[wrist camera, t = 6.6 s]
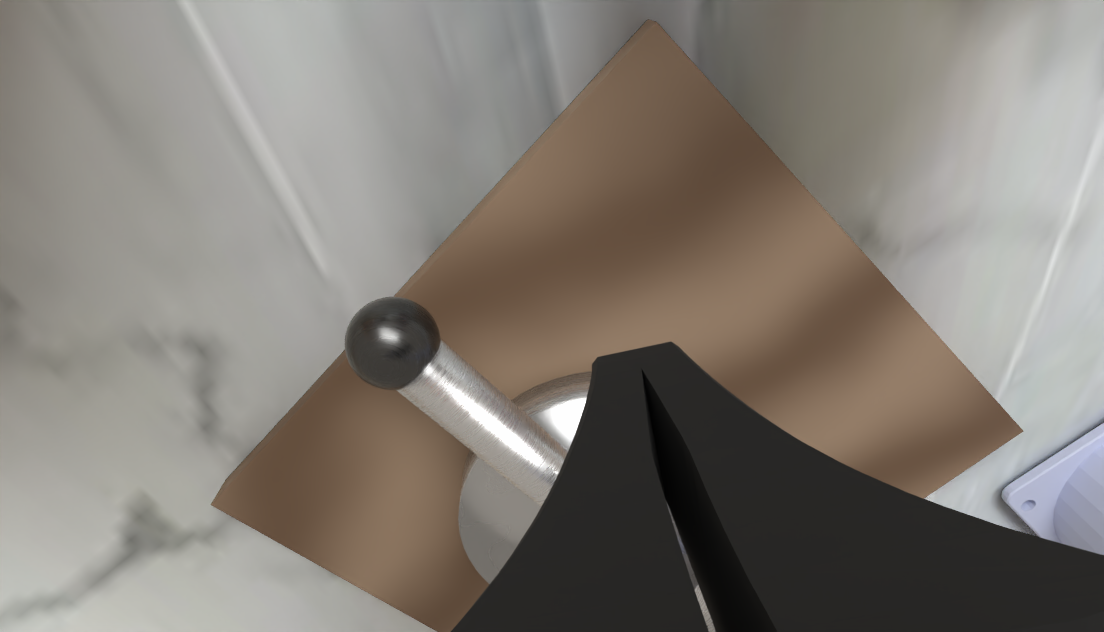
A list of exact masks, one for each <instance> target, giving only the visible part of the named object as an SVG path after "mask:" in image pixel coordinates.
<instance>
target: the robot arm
mask: <svg viewBox="0 0 1104 632" xmlns="http://www.w3.org/2000/svg"><path fill="white" fill-rule="evenodd" d="M1002 498H1003V500H1004V501H1005V502H1006V503H1007V504H1008V506H1009V507H1010V508H1011V509H1012V510H1013V511H1014V512H1015V513H1016V514H1017V515H1018V516H1019V517H1020V518H1021V519H1022V520H1023V521H1024V522H1025V523H1026V524H1027V525H1028V526H1029V527H1030V528H1031V529H1032V530H1033V531H1034V532H1035V533H1036V534H1037V535H1038V536H1039V537H1037V536H1033V535H1030V534H1026V533H1022V532H1019V531H1015V530H1012V529H1008V528H1005V527H1002V526H999V525H996V524H993V523H990V522H987V521H984V520H981V519H979V518H976V517H973V516H970V515H967V514H964V513H961V512H958V511H955V510H953V509H950V508H947V507H944V506H941V505H939V504H936V503H933V502H931V501H928V500H926V499H923V498H920V497H918V496H915V495H913V494H910V493H908V492H905V491H903V490H901V489H898V488H896V487H894V486H891V485H889V484H887V483H885V482H882V481H880V480H878V479H875V478H873V477H871V476H869V475H866V474H864V473H862V472H860V471H858V470H855V469H853V468H851V467H849V466H847V465H845V464H843V463H841V462H839V461H837V460H835V459H833V458H831V457H830V456H828V455H826V454H824V453H822V452H820V451H818V450H817V449H815V448H813V447H811V446H809V445H807V444H806V443H804V442H802V441H800V440H799V439H797V438H795V437H794V436H792V435H791V434H789V433H787V432H786V431H784V430H783V429H781V428H780V427H778V426H777V425H775V424H774V423H772V422H771V421H769V420H768V419H766V418H765V417H763V416H762V415H760V414H759V413H758V412H756V411H755V410H753V409H752V408H751V407H749V406H748V405H746V404H745V403H744V402H743V401H741V400H740V399H739V398H737V397H736V396H735V395H734V394H732V393H731V392H730V391H728V390H727V389H726V388H724V387H723V386H722V385H721V384H720V383H718V382H717V381H716V380H715V379H713V378H712V377H711V376H710V375H709V374H708V373H707V372H705V371H704V370H703V369H702V368H701V367H700V366H699V365H697V364H696V363H695V362H694V361H693V360H692V359H691V358H690V357H689V356H688V355H687V354H686V353H685V352H684V351H683V350H682V349H681V348H680V347H679V346H677V345H676V344H674V343H673V342H671V341H670V342H666V343H661V344H656V345H652V346H647V347H642V348H637V349H633V350H628V351H623V352H619V353H614V354H609V355H604V356H600V357H597V358H596V359H595V361H594V362H593V364H592V373H591V380H590V385H589V390H588V394H587V398H586V402H585V405H584V408H583V411H582V415H581V418H580V421H579V424H578V427H577V430H576V433H575V435H574V438H573V441H572V443H571V445H570V448H569V450H568V453H567V455H566V457H565V460H564V462H563V464H562V467H561V469H560V471H559V474H558V476H557V478H556V480H555V482H554V484H553V486H552V488H551V490H550V492H549V494H548V496H547V497H546V499H545V501H544V503H543V505H542V506H541V508H540V510H539V512H538V514H537V515H536V517H535V519H534V520H533V522H532V524H531V525H530V527H529V528H528V530H527V531H526V533H525V535H524V536H523V538H522V539H521V541H520V542H519V544H518V545H517V547H516V549H515V550H514V552H513V553H512V555H511V556H510V557H509V559H508V560H507V562H506V563H505V565H504V566H503V567H502V569H501V570H500V571H499V573H498V574H497V576H496V577H495V578H494V579H493V581H492V582H491V583H490V584H489V586H488V587H487V588H486V589H485V590H484V592H483V593H482V594H481V595H480V597H479V598H478V599H477V600H476V602H475V603H474V604H473V605H472V607H471V608H470V609H469V610H468V612H467V613H466V614H465V615H464V617H463V618H462V619H461V620H460V621H459V623H458V624H457V625H456V626H455V627H454V628H453V630H452V631H451V632H709V630H708V627H707V625H706V622H705V619H704V616H703V613H702V610H701V607H700V605H699V602H698V599H697V596H696V593H695V590H694V587H693V584H692V581H691V578H690V575H689V572H688V569H687V566H686V563H685V560H684V557H683V554H682V551H681V548H680V544H679V541H678V538H677V535H676V532H675V529H674V525H673V522H672V519H671V516H670V513H669V509H670V512H671V514H672V517H673V520H674V522H675V525H676V527H677V530H678V533H679V535H680V538H681V541H682V543H683V546H684V549H685V551H686V554H687V556H688V559H689V562H690V564H691V567H692V569H693V572H694V575H695V577H696V580H697V583H698V585H699V588H700V590H701V593H702V596H703V598H704V601H705V603H706V606H707V609H708V611H709V614H710V617H711V619H712V622H713V625H714V628H715V631H716V632H1104V423H1102V424H1101V425H1099V426H1098V427H1096V428H1095V429H1093V430H1092V431H1090V432H1088V433H1087V434H1085V435H1084V436H1082V437H1081V438H1079V439H1078V440H1076V441H1075V442H1073V443H1072V444H1070V445H1069V446H1067V447H1065V448H1064V449H1062V450H1061V451H1059V452H1058V453H1056V454H1055V455H1053V456H1052V457H1050V458H1049V459H1047V460H1046V461H1044V462H1042V463H1041V464H1039V465H1038V466H1036V467H1035V468H1033V469H1032V470H1030V471H1029V472H1027V473H1026V474H1024V475H1022V476H1021V477H1019V478H1018V479H1016V480H1015V481H1013V482H1012V483H1010V484H1009V485H1007V486H1006V487H1005V488H1004V490H1003V491H1002ZM667 504H668V506H669V509H668V506H667Z"/></svg>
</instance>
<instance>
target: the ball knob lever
mask: <svg viewBox="0 0 1104 632" xmlns="http://www.w3.org/2000/svg"><path fill="white" fill-rule="evenodd" d="M345 351H346V356H347V359H348V362H349V364H350V366H351V368H352V369H353V371H354V372H355V373H356V374H357V375H358V376H359V377H360V378H361V379H362V380H363V381H365V382H366V383H368V384H370V385H371V386H374V387H376V388H380V389H384V390H397V391H398V392H399V393H400V394H402V395H403V396H404V397H405V398H406V399H408V400H409V401H410V402H411V403H413V404H414V405H415V406H416V407H418V408H419V409H420V410H421V411H423V412H424V413H425V414H426V415H427V416H429V417H430V418H431V419H432V420H434V421H435V422H436V423H437V424H439V425H440V426H441V427H442V428H444V429H445V430H446V431H447V432H449V433H450V434H451V435H452V436H453V437H455V438H456V439H457V440H458V441H460V442H461V443H462V444H463V445H465V446H466V447H467V448H468V449H470V450H469V453H468V455H467V458H466V462H465V466H464V470H463V477H462V486H461V494H460V502H459V515H458V522H459V532H460V536H461V540H462V543H463V547H464V549H465V551H466V553H467V556H468V558H469V560H470V561H471V563H472V564H473V566H474V567H475V569H476V570H477V572H478V573H479V574H480V575H481V576H482V577H483V578H484V579H485V580H486V581H487V582H488V583H489V584H490V583H491V582H492V581H493V579H494V578H495V577H496V576H497V574H498V573H499V571H500V570H501V569H502V567H503V566H504V565H505V563H506V562H507V560H508V559H509V557H510V556H511V555H512V553H513V552H514V550H515V549H516V547H517V545H518V544H519V542H520V541H521V539H522V538H523V536H524V535H525V533H526V531H527V530H528V528H529V527H530V525H531V524H532V522H533V520H534V519H535V517H536V515H537V514H538V512H539V510H540V508H541V506H542V505H543V503H544V501H545V499H546V497H547V496H548V494H549V492H550V490H551V488H552V486H553V484H554V482H555V480H556V478H557V476H558V474H559V471H560V469H561V467H562V464H563V462H564V460H565V457H566V455H567V453H568V450H569V448H570V445H571V443H572V441H573V438H574V435H575V433H576V430H577V427H578V424H579V421H580V418H581V415H582V411H583V408H584V405H585V402H586V398H587V394H588V390H589V385H590V380H591V373H592V371H589V372H582V373H575V374H571V375H567V376H563V377H559V378H555V379H552V380H550V381H547V382H545V383H542V384H540V385H537V386H535V387H533V388H531V389H529V390H527V391H525V392H524V393H522V394H520V395H518V396H517V397H515V398H514V399H513V400H510V399H509V398H508V397H506V396H505V395H504V394H503V393H502V392H501V391H500V390H498V389H497V388H496V387H495V386H494V385H493V384H492V383H490V382H489V381H488V380H487V379H486V378H485V377H484V376H482V375H481V374H480V373H479V372H478V371H477V370H476V369H474V368H473V367H472V366H471V365H470V364H469V363H467V362H466V361H465V360H464V359H463V358H462V357H461V356H459V355H458V354H457V353H456V352H455V351H454V350H453V349H451V348H450V347H449V346H448V345H447V344H446V343H445V342H443V341H442V340H441V338H440V332H439V329H438V326H437V324H436V322H435V320H434V318H433V317H432V316H431V314H430V313H429V312H428V311H427V310H426V309H425V308H424V307H422V306H421V305H419V304H418V303H416V302H414V301H412V300H409V299H406V298H401V297H385V298H381V299H377V300H375V301H372V302H370V303H368V304H367V305H365V306H364V307H363V308H362V309H360V310H359V311H358V312H357V313H356V314H355V316H354V317H353V319H352V320H351V322H350V324H349V326H348V329H347V332H346V336H345ZM667 506H668V504H667ZM668 509H669V506H668ZM669 513H670V516H671V519H672V522H673V525H674V529H675V532H676V535H677V538H678V541H679V544H680V548H681V551H682V554H683V557H684V560H685V563H686V566H687V569H688V572H689V575H690V578H691V581H692V584H693V587H694V590H695V593H696V596H697V599H698V602H699V605H700V607H701V610H702V613H703V616H704V619H705V622H706V625H707V627H708V630H709V632H716V631H715V628H714V625H713V622H712V619H711V617H710V614H709V611H708V609H707V606H706V603H705V601H704V598H703V596H702V593H701V590H700V588H699V585H698V583H697V580H696V577H695V575H694V572H693V569H692V567H691V564H690V562H689V559H688V556H687V554H686V551H685V549H684V546H683V543H682V541H681V538H680V535H679V533H678V530H677V527H676V525H675V522H674V520H673V517H672V514H671V512H670V509H669Z"/></svg>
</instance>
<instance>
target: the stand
mask: <svg viewBox="0 0 1104 632" xmlns="http://www.w3.org/2000/svg"><path fill="white" fill-rule="evenodd" d="M394 297H401V298H406V299H409V300H412V301H414V302H416V303H418V304H419V305H421V306H422V307H424V308H425V309H426V310H427V311H428V312H429V313H430V314H431V316H432V317H433V318H434V320H435V322H436V324H437V326H438V329H439V332H440V338H441V340H442V341H443V342H445V343H446V344H447V345H448V346H449V347H450V348H451V349H453V350H454V351H455V352H456V353H457V354H458V355H459V356H461V357H462V358H463V359H464V360H465V361H466V362H467V363H469V364H470V365H471V366H472V367H473V368H474V369H476V370H477V371H478V372H479V373H480V374H481V375H482V376H484V377H485V378H486V379H487V380H488V381H489V382H490V383H492V384H493V385H494V386H495V387H496V388H497V389H498V390H500V391H501V392H502V393H503V394H504V395H505V396H506V397H508V398H509V399H510V400H513V399H514V398H515V397H517V396H518V395H520V394H522V393H524V392H525V391H527V390H529V389H531V388H533V387H535V386H537V385H540V384H542V383H545V382H547V381H550V380H552V379H555V378H559V377H563V376H567V375H571V374H575V373H582V372H589V371H592V364H593V362H594V361H595V359H596V358H597V357H600V356H604V355H609V354H614V353H619V352H623V351H628V350H633V349H637V348H642V347H647V346H652V345H656V344H661V343H666V342H670V341H671V342H673V343H674V344H676V345H677V346H679V347H680V348H681V349H682V350H683V351H684V352H685V353H686V354H687V355H688V356H689V357H690V358H691V359H692V360H693V361H694V362H695V363H696V364H697V365H699V366H700V367H701V368H702V369H703V370H704V371H705V372H707V373H708V374H709V375H710V376H711V377H712V378H713V379H715V380H716V381H717V382H718V383H720V384H721V385H722V386H723V387H724V388H726V389H727V390H728V391H730V392H731V393H732V394H734V395H735V396H736V397H737V398H739V399H740V400H741V401H743V402H744V403H745V404H746V405H748V406H749V407H751V408H752V409H753V410H755V411H756V412H758V413H759V414H760V415H762V416H763V417H765V418H766V419H768V420H769V421H771V422H772V423H774V424H775V425H777V426H778V427H780V428H781V429H783V430H784V431H786V432H787V433H789V434H791V435H792V436H794V437H795V438H797V439H799V440H800V441H802V442H804V443H806V444H807V445H809V446H811V447H813V448H815V449H817V450H818V451H820V452H822V453H824V454H826V455H828V456H830V457H831V458H833V459H835V460H837V461H839V462H841V463H843V464H845V465H847V466H849V467H851V468H853V469H855V470H858V471H860V472H862V473H864V474H866V475H869V476H871V477H873V478H875V479H878V480H880V481H882V482H885V483H887V484H889V485H891V486H894V487H896V488H898V489H901V490H903V491H905V492H908V493H910V494H913V495H915V496H918V497H920V498H923V499H924V498H925V497H927V496H928V495H930V494H931V493H933V492H934V491H936V490H937V489H938V488H940V487H941V486H943V485H944V484H946V483H947V482H949V481H950V480H952V479H953V478H955V477H956V476H958V475H959V474H961V473H962V472H964V471H965V470H967V469H968V468H970V467H971V466H973V465H974V464H976V463H977V462H979V461H980V460H982V459H983V458H984V457H986V456H987V455H989V454H990V453H992V452H993V451H995V450H996V449H998V448H999V447H1001V446H1002V445H1004V444H1005V443H1007V442H1008V441H1010V440H1011V439H1013V438H1014V437H1016V436H1017V435H1019V434H1020V433H1022V432H1023V430H1022V429H1021V428H1020V427H1019V426H1018V424H1017V423H1016V422H1015V421H1014V420H1013V419H1012V418H1011V417H1010V416H1009V414H1008V413H1007V412H1006V411H1005V410H1004V409H1003V408H1002V407H1001V406H1000V404H999V403H998V402H997V401H996V400H995V399H994V398H993V397H992V395H991V394H990V393H989V392H988V391H987V390H986V389H985V388H984V387H983V385H982V384H981V383H980V382H979V381H978V380H977V379H976V378H975V377H974V375H973V374H972V373H971V372H970V371H969V370H968V369H967V368H966V366H965V365H964V364H963V363H962V362H961V361H960V360H959V359H958V358H957V356H956V355H955V354H954V353H953V352H952V351H951V350H950V349H949V348H948V346H947V345H946V344H945V343H944V342H943V341H942V340H941V339H940V337H939V336H938V335H937V334H936V333H935V332H934V331H933V330H932V329H931V327H930V326H929V325H928V324H927V323H926V322H925V321H924V320H923V319H922V317H921V316H920V315H919V314H918V313H917V312H916V311H915V310H914V308H913V307H912V306H911V305H910V304H909V303H908V302H907V301H906V300H905V298H904V297H903V296H902V295H901V294H900V293H899V292H898V291H897V290H896V288H895V287H894V286H893V285H892V284H891V283H890V282H889V281H888V279H887V278H886V277H885V276H884V275H883V274H882V273H881V272H880V271H879V269H878V268H877V267H876V266H875V265H874V264H873V263H872V262H871V261H870V259H869V258H868V257H867V256H866V255H865V254H864V253H863V252H862V250H861V249H860V248H859V247H858V246H857V245H856V244H855V243H854V242H853V240H852V239H851V238H850V237H849V236H848V235H847V234H846V233H845V232H844V230H843V229H842V228H841V227H840V226H839V225H838V224H837V223H836V221H835V220H834V219H833V218H832V217H831V216H830V215H829V214H828V213H827V211H826V210H825V209H824V208H823V207H822V206H821V205H820V204H819V203H818V201H817V200H816V199H815V198H814V197H813V196H812V195H811V194H810V192H809V191H808V190H807V189H806V188H805V187H804V186H803V185H802V184H801V182H800V181H799V180H798V179H797V178H796V177H795V176H794V175H793V173H792V172H791V171H790V170H789V169H788V168H787V167H786V166H785V165H784V163H783V162H782V161H781V160H780V159H779V158H778V157H777V156H776V155H775V153H774V152H773V151H772V150H771V149H770V148H769V147H768V146H767V144H766V143H765V142H764V141H763V140H762V139H761V138H760V137H759V136H758V134H757V133H756V132H755V131H754V130H753V129H752V128H751V127H750V126H749V124H748V123H747V122H746V121H745V120H744V119H743V118H742V117H741V115H740V114H739V113H738V112H737V111H736V110H735V109H734V108H733V107H732V105H731V104H730V103H729V102H728V101H727V100H726V99H725V98H724V97H723V95H722V94H721V93H720V92H719V91H718V90H717V89H716V88H715V86H714V85H713V84H712V83H711V82H710V81H709V80H708V79H707V78H706V76H705V75H704V74H703V73H702V72H701V71H700V70H699V69H698V68H697V66H696V65H695V64H694V63H693V62H692V61H691V60H690V59H689V57H688V56H687V55H686V54H685V53H684V52H683V51H682V50H681V49H680V47H679V46H678V45H677V44H676V43H675V42H674V41H673V40H672V39H671V37H670V36H669V35H668V34H667V33H666V32H665V31H664V30H663V28H662V27H661V26H660V25H659V24H658V23H657V22H656V21H652V20H649V19H648V20H647V21H646V22H645V23H644V24H643V25H642V26H641V27H640V28H639V30H638V31H637V32H636V33H635V34H634V35H633V36H632V37H631V38H630V39H629V40H628V42H627V43H626V44H625V45H624V46H623V47H622V48H621V49H620V50H619V51H618V52H617V54H616V55H615V56H614V57H613V58H612V59H611V60H610V61H609V62H608V63H607V64H606V66H605V67H604V68H603V69H602V70H601V71H600V72H599V73H598V74H597V75H596V76H595V78H594V79H593V80H592V81H591V82H590V83H589V84H588V85H587V86H586V87H585V88H584V90H583V91H582V92H581V93H580V94H579V95H578V96H577V97H576V98H575V99H574V100H573V102H572V103H571V104H570V105H569V106H568V107H567V108H566V109H565V110H564V111H563V112H562V114H561V115H560V116H559V117H558V118H557V119H556V120H555V121H554V122H553V123H552V124H551V126H550V127H549V128H548V129H547V130H546V131H545V132H544V133H543V134H542V135H541V136H540V138H539V139H538V140H537V141H536V142H535V143H534V144H533V145H532V146H531V147H530V148H529V150H528V151H527V152H526V153H525V154H524V155H523V156H522V157H521V158H520V159H519V160H518V162H517V163H516V164H515V165H514V166H513V167H512V168H511V169H510V170H509V171H508V172H507V174H506V175H505V176H504V177H503V178H502V179H501V180H500V181H499V182H498V183H497V184H496V186H495V187H494V188H493V189H492V190H491V191H490V192H489V193H488V194H487V195H486V196H485V198H484V199H483V200H482V201H481V202H480V203H479V204H478V205H477V206H476V207H475V208H474V210H473V211H472V212H471V213H470V214H469V215H468V216H467V217H466V218H465V219H464V220H463V222H462V223H461V224H460V225H459V226H458V227H457V228H456V229H455V230H454V231H453V232H452V234H451V235H450V236H449V237H448V238H447V239H446V240H445V241H444V242H443V243H442V245H441V246H440V247H439V248H438V249H437V250H436V251H435V252H434V253H433V254H432V255H431V257H430V258H429V259H428V260H427V261H426V262H425V263H424V264H423V265H422V266H421V267H420V269H419V270H418V271H417V272H416V273H415V274H414V275H413V276H412V277H411V278H410V279H409V281H408V282H407V283H406V284H405V285H404V286H403V287H402V288H401V289H400V290H399V291H398V293H397V294H396V295H395V296H394ZM469 450H470V449H468V448H467V447H466V446H465V445H463V444H462V443H461V442H460V441H458V440H457V439H456V438H455V437H453V436H452V435H451V434H450V433H449V432H447V431H446V430H445V429H444V428H442V427H441V426H440V425H439V424H437V423H436V422H435V421H434V420H432V419H431V418H430V417H429V416H427V415H426V414H425V413H424V412H423V411H421V410H420V409H419V408H418V407H416V406H415V405H414V404H413V403H411V402H410V401H409V400H408V399H406V398H405V397H404V396H403V395H402V394H400V393H399V392H398V391H397V390H384V389H380V388H376V387H374V386H371V385H370V384H368V383H366V382H365V381H363V380H362V379H361V378H360V377H359V376H358V375H357V374H356V373H355V372H354V371H353V369H352V368H351V366H350V364H349V362H348V359H347V356H346V351H345V350H344V351H343V353H342V354H341V355H340V356H339V357H338V358H337V359H336V360H335V361H334V362H333V363H332V365H331V366H330V367H329V368H328V369H327V370H326V371H325V372H324V373H323V374H322V375H321V377H320V378H319V379H318V380H317V381H316V382H315V383H314V384H313V385H312V386H311V387H310V389H309V390H308V391H307V392H306V393H305V394H304V395H303V396H302V397H301V398H300V399H299V401H298V402H297V403H296V404H295V405H294V406H293V407H292V408H291V409H290V410H289V411H288V413H287V414H286V415H285V416H284V417H283V418H282V419H281V420H280V421H279V422H278V423H277V425H276V426H275V427H274V428H273V429H272V430H271V431H270V432H269V433H268V434H267V435H266V437H265V438H264V439H263V440H262V441H261V442H260V443H259V444H258V445H257V446H256V447H255V449H254V450H253V451H252V452H251V453H250V454H249V455H248V456H247V457H246V458H245V459H244V461H243V462H242V463H241V464H240V465H239V466H238V467H237V468H236V469H235V470H234V471H233V473H232V474H231V475H230V476H229V477H228V478H227V479H226V480H225V482H224V484H223V485H222V487H221V489H220V490H219V492H218V494H217V495H216V497H215V499H214V500H213V502H212V504H211V505H212V506H214V507H216V508H217V509H219V510H221V511H223V512H225V513H226V514H228V515H230V516H232V517H234V518H235V519H237V520H239V521H241V522H242V523H244V524H246V525H248V526H250V527H251V528H253V529H255V530H257V531H259V532H260V533H262V534H264V535H266V536H268V537H269V538H271V539H273V540H275V541H276V542H278V543H280V544H282V545H284V546H285V547H287V548H289V549H291V550H293V551H294V552H296V553H298V554H300V555H301V556H303V557H305V558H307V559H309V560H310V561H312V562H314V563H316V564H318V565H319V566H321V567H323V568H325V569H326V570H328V571H330V572H332V573H334V574H335V575H337V576H339V577H341V578H343V579H344V580H346V581H348V582H350V583H351V584H353V585H355V586H357V587H359V588H360V589H362V590H364V591H366V592H368V593H369V594H371V595H373V596H375V597H376V598H378V599H380V600H382V601H384V602H385V603H387V604H389V605H391V606H393V607H394V608H396V609H398V610H400V611H402V612H403V613H405V614H407V615H409V616H410V617H412V618H414V619H416V620H418V621H419V622H421V623H423V624H425V625H427V626H428V627H430V628H432V629H434V630H435V631H437V632H451V631H452V630H453V628H454V627H455V626H456V625H457V624H458V623H459V621H460V620H461V619H462V618H463V617H464V615H465V614H466V613H467V612H468V610H469V609H470V608H471V607H472V605H473V604H474V603H475V602H476V600H477V599H478V598H479V597H480V595H481V594H482V593H483V592H484V590H485V589H486V588H487V587H488V586H489V583H488V582H487V581H486V580H485V579H484V578H483V577H482V576H481V575H480V574H479V573H478V572H477V570H476V569H475V567H474V566H473V564H472V563H471V561H470V560H469V558H468V556H467V553H466V551H465V549H464V547H463V543H462V540H461V536H460V532H459V522H458V515H459V502H460V494H461V486H462V477H463V470H464V466H465V462H466V458H467V455H468V453H469Z"/></svg>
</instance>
